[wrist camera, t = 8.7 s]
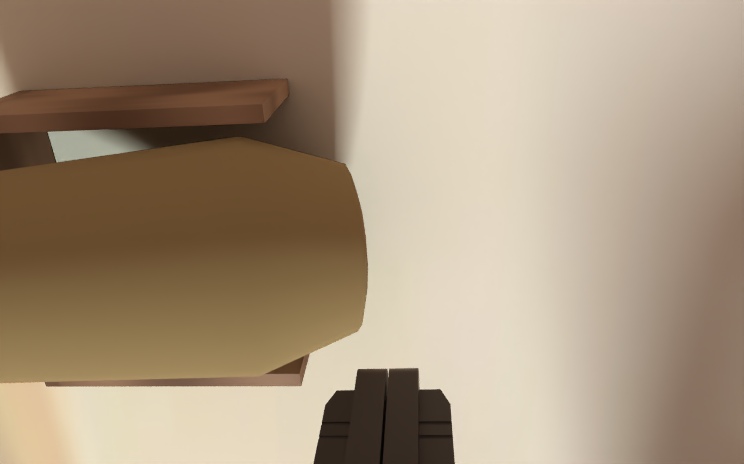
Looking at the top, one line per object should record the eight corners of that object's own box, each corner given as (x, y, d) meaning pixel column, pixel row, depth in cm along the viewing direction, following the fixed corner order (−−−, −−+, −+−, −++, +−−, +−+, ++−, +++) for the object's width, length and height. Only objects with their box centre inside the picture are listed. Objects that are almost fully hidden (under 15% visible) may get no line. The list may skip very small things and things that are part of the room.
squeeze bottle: (360, 393, 22) (-200, 469, 19) (331, 215, 26) (-133, 249, 23) (394, 300, 16) (-471, 391, 12) (348, 79, 20) (-307, 98, 16)
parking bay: (287, 78, 22) (262, 103, 19) (316, 327, 27) (301, 386, 23) (19, 91, 23) (-54, 117, 20) (93, 329, 28) (46, 386, 24)
